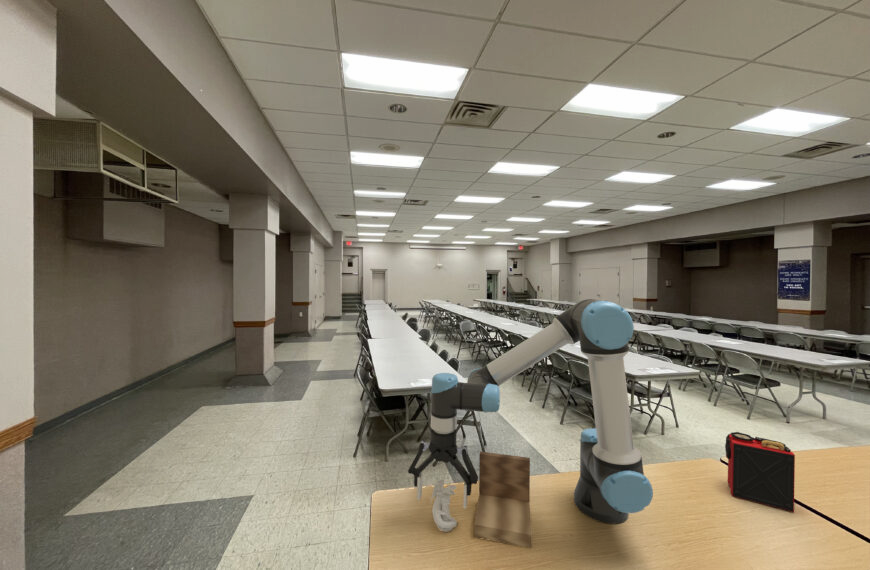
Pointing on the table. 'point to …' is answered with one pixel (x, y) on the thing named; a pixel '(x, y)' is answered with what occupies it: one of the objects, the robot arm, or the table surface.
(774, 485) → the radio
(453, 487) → the figurine
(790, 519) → the table surface
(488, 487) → the wall shelf
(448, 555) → the table surface
